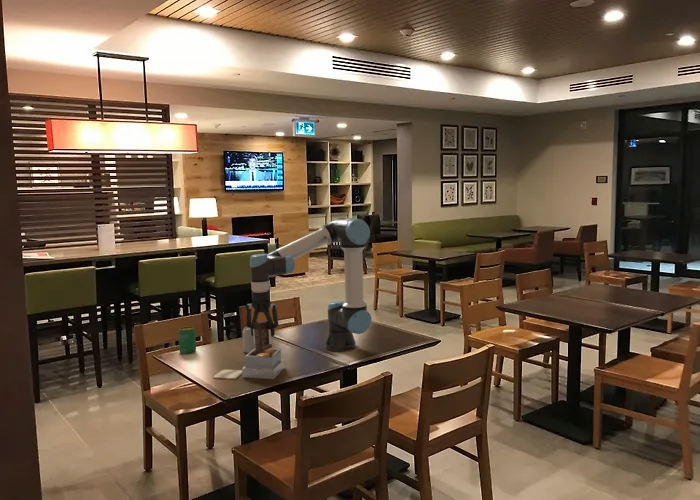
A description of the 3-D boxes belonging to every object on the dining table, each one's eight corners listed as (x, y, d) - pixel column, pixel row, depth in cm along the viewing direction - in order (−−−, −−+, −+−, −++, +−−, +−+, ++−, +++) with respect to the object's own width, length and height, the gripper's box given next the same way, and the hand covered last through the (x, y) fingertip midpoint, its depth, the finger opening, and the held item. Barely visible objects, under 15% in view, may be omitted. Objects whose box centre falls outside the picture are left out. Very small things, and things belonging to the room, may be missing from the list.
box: (265, 346, 247) (263, 319, 245) (272, 348, 244) (270, 320, 242) (254, 349, 242) (253, 322, 241) (261, 351, 239) (260, 323, 238)
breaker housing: (284, 368, 250) (283, 348, 249) (273, 379, 236) (273, 358, 235) (254, 366, 252) (253, 347, 251) (242, 377, 239) (241, 356, 238)
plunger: (271, 361, 246) (271, 353, 245) (267, 365, 240) (267, 357, 240) (259, 360, 247) (259, 352, 246) (254, 364, 241) (254, 356, 241)
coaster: (244, 371, 246) (244, 370, 246) (235, 379, 236) (235, 378, 236) (222, 370, 248) (222, 369, 248) (212, 378, 238) (212, 377, 238)
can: (255, 354, 271) (254, 329, 270) (241, 353, 273) (239, 329, 271) (261, 349, 279) (260, 326, 277) (246, 349, 280) (245, 325, 279)
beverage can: (199, 350, 279) (198, 327, 277) (188, 355, 272) (187, 331, 270) (187, 349, 282) (185, 325, 281) (175, 353, 275) (174, 329, 274)
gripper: (284, 289, 242) (287, 341, 245) (242, 288, 245) (245, 340, 248) (279, 292, 234) (282, 346, 237) (235, 292, 238) (239, 345, 241)
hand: (263, 343), depth 243 cm, fingers closed on box, 6 cm apart
